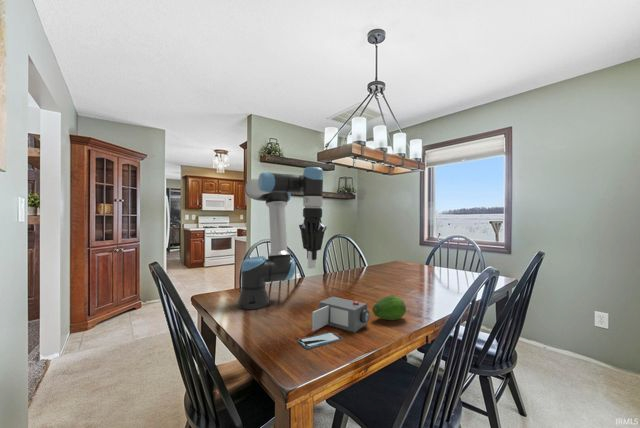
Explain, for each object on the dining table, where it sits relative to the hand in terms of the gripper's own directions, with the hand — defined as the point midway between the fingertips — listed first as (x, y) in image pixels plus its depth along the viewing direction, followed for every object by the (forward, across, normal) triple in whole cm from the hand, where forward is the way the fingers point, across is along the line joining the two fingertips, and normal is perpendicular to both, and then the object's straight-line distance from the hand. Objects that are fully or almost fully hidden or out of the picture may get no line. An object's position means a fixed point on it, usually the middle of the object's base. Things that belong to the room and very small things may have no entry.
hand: (311, 267), depth 110 cm
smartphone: (+24, +10, -5) cm, 27 cm away
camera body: (+24, +6, +13) cm, 28 cm away
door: (+23, +3, +2) cm, 24 cm away
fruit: (+24, +18, +30) cm, 42 cm away
